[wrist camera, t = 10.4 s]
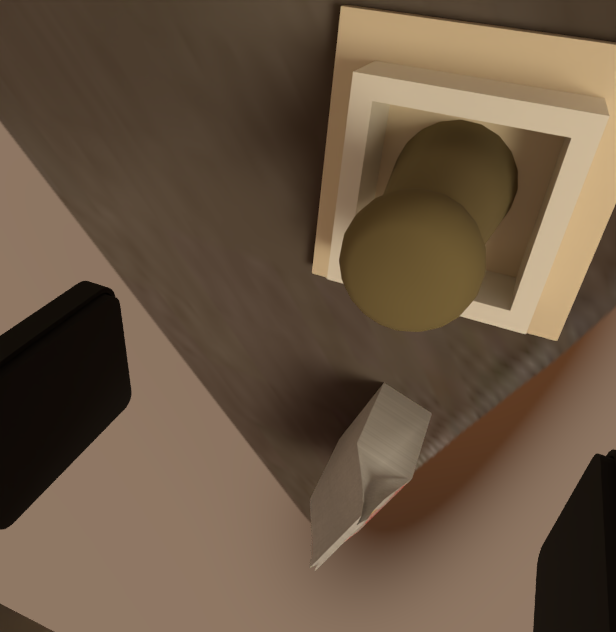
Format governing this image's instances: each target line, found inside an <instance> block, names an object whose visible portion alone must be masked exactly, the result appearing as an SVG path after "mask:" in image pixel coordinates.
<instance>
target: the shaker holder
mask: <svg viewBox="0 0 616 632" xmlns="http://www.w3.org/2000/svg"><path fill="white" fill-rule="evenodd" d="M451 120H465V121H469V122H474V123H478V124H482V125H483V126H485V127H486V128H488V129H490V130H491V131H493V132H494V133H496V134H497V135H499V136H500V137H501V139H502V140H503V141H504V142H505V144H506V145H507V146H508V148H509V149H510V150H511V151H512V154H513V157H514V160H515V163H516V166H517V169H518V190H517V193H516V196H515V198H514V201H513V204H512V206H511V209H510V210H509V212H508V213H507V215H506V216H505V217H504V219H503V220H502V222H501V223H500V224H499V226H498V227H497V229H496V230H495V232H494V233H493V234H492V236H491V237H490V239H489V240H488V241H487V243H486V244H485V246H486V272H485V276H484V279H483V282H482V284H481V287H480V290H479V292H478V295H477V297H476V298H475V299H474V300H473V302H472V303H471V304H470V305H469V306H468V307H467V309H466V310H465V311H464V312H463V313H462V314H461V315H460V316H462V317H465V318H469V319H472V320H476V321H480V322H483V323H487V324H490V325H494V326H497V327H501V328H505V329H508V330H512V331H515V332H519V333H523V334H526V333H529V334H533V335H536V336H540V337H543V338H547V339H551V340H554V341H557V340H558V338H559V335H560V333H561V331H562V328H563V326H564V324H565V321H566V319H567V316H568V314H569V312H570V309H571V307H572V305H573V302H574V300H575V298H576V295H577V293H578V291H579V288H580V286H581V284H582V281H583V279H584V277H585V274H586V272H587V270H588V267H589V265H590V263H591V260H592V258H593V255H594V253H595V251H596V248H597V246H598V244H599V241H600V239H601V237H602V234H603V232H604V230H605V227H606V225H607V223H608V220H609V218H610V216H611V213H612V211H613V209H614V206H615V204H616V42H610V41H603V40H596V39H588V38H581V37H574V36H567V35H560V34H553V33H546V32H538V31H531V30H524V29H517V28H510V27H503V26H496V25H488V24H481V23H474V22H467V21H460V20H453V19H446V18H438V17H431V16H424V15H417V14H410V13H403V12H396V11H388V10H381V9H374V8H367V7H360V6H353V5H344V6H341V10H340V19H339V29H338V38H337V47H336V56H335V65H334V75H333V84H332V93H331V102H330V112H329V121H328V130H327V139H326V148H325V158H324V167H323V176H322V185H321V195H320V204H319V213H318V222H317V231H316V241H315V250H314V259H313V268H312V273H313V274H317V275H320V276H324V277H327V279H329V280H332V281H336V282H340V283H343V281H342V279H341V272H340V265H339V257H340V252H341V247H342V241H343V237H344V233H345V232H346V230H347V228H348V227H349V225H350V223H351V222H352V220H353V218H354V217H355V216H356V214H357V213H358V212H359V211H360V210H362V209H363V208H364V207H365V206H366V205H368V204H369V203H370V202H371V201H372V200H374V199H375V198H376V197H379V196H382V195H383V194H384V191H385V189H386V186H387V183H388V181H389V178H390V176H391V173H392V171H393V168H394V165H395V163H396V160H397V158H398V156H399V155H400V153H401V151H402V150H403V148H404V146H405V145H406V143H407V142H408V141H409V140H410V139H411V138H413V137H414V136H415V135H416V134H417V133H418V132H419V131H421V130H422V129H424V128H426V127H429V126H431V125H433V124H436V123H438V122H440V121H451ZM343 284H344V283H343Z"/></svg>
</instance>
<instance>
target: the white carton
mask: <svg viewBox="0 0 616 632" xmlns="http://www.w3.org/2000/svg"><path fill="white" fill-rule="evenodd" d="M431 414H432V413H430V412H429V411H427V410H426V409H424V408H423V407H421V406H419V405H418V404H416V403H415V402H413V401H412V400H410V399H409V398H407V397H405V396H404V395H402V394H401V393H399V392H398V391H396V390H395V389H393V388H392V387H390V386H388V385H387V384H385V383H383V384H382V386H381V387H380V388H379V389H378V391H377V392H376V393H375V395H374V396H373V397H372V398H371V400H370V401H369V402H368V403H367V405H366V406H365V407H364V408H363V410H362V411H361V412H360V413H359V415H358V416H357V417H356V419H355V420H354V421H353V422H352V424H351V425H350V426H349V427H348V429H347V430H346V431H345V432H344V434H343V435H342V436H341V437H340V439H339V441H338V443H337V445H336V447H335V449H334V451H333V453H332V455H331V457H330V459H329V461H328V463H327V466H326V468H325V470H324V472H323V474H322V476H321V478H320V480H319V482H318V484H317V486H316V488H315V490H314V492H313V494H312V496H311V498H310V511H311V529H312V530H311V531H312V556H311V562H310V568H311V567H313V566H315V565H316V564H317V567H316V569H317V568H319V566H320V565H322V564H323V563H324V562H325V561H326V559H328V558H329V557H330V555H332V554H333V553H334V552H335V551H336V550H337V549H338V548H339V547H340V546H341V545H342V544H343V543H344V542H345V541H346V540H348V539H349V538H350V537H352V536H353V535H354V534H355V533H357V532H358V531H359V530H360V529H361V528H362V527H363V526H364V525H365V524H366V523H367V522H368V521H369V520H370V519H371V518H372V517H373V516H374V515H375V514H376V513H377V512H378V511H379V510H381V508H383V507H384V506H385V504H387V503H388V502H389V500H391V499H392V498H393V497H394V496H395V495H396V494H397V493H398V492H399V491H400V490H401V489H402V488H403V487H404V486H405V485H406V484H407V483H408V482H409V481H410V480H411V479H412V476H413V473H414V470H415V467H416V463H417V460H418V457H419V454H420V450H421V447H422V444H423V440H424V437H425V434H426V431H427V427H428V424H429V421H430V418H431ZM316 569H315V570H316Z"/></svg>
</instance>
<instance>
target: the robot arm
mask: <svg viewBox="0 0 616 632" xmlns="http://www.w3.org/2000/svg"><path fill="white" fill-rule="evenodd" d="M130 398H131V385H130V378H129V369H128V362H127V354H126V346H125V339H124V331H123V324H122V316H121V308H120V303H119V300H118V299H117V298H115V294H114V292H113V291H112V289H110V288H108V287H105V286H101V285H98V284H95V283H92V282H89V281H82V282H80V283H78V284H76V285H75V286H74V287H72V288H71V289H69V290H68V291H66V292H65V293H63V294H62V295H60V296H59V297H57V298H56V299H54V300H53V301H51V302H50V303H48V304H47V305H46V306H44V307H42V308H41V309H39V310H38V311H37V312H35V313H33V314H32V315H30V316H29V317H27V318H26V319H25V320H23V321H22V322H20V323H19V324H17V325H16V326H14V327H13V328H11V329H10V330H8V331H7V332H5V333H4V334H2V335H1V336H0V529H6V528H7V527H9V526H10V525H12V524H13V523H14V522H15V521H16V520H17V519H18V518H19V517H20V516H21V515H22V514H23V513H24V512H25V510H27V509H28V508H29V507H30V505H31V504H32V503H33V502H34V501H35V500H36V499H37V498H38V497H39V496H40V495H41V494H42V493H43V492H44V491H45V490H46V489H47V488H48V487H49V486H50V485H51V484H52V483H53V482H54V481H55V480H56V478H58V477H59V476H60V475H61V474H62V473H63V472H64V470H66V468H67V467H69V466H70V464H71V463H72V462H73V461H74V460H75V459H76V458H77V457H78V456H79V455H80V454H81V453H82V452H83V451H84V450H85V449H86V448H87V447H88V446H89V445H90V444H91V443H92V442H93V441H94V440H95V439H96V438H97V437H98V436H99V434H101V432H103V431H104V430H105V429H106V427H108V426H109V424H110V423H111V422H112V421H113V420H114V419H115V418H116V417H117V416H118V415H119V414H120V413H121V412H122V411H123V410H124V409H125V408H126V407H127V405H128V403H129V401H130ZM0 632H53V631H52V630H50V629H48V628H46V627H44V626H42V625H40V624H38V623H36V622H35V621H33V620H31V619H29V618H27V617H25V616H23V615H21V614H19V613H17V612H15V611H13V610H11V609H9V608H8V607H5V606H4V605H2V604H0ZM533 632H616V450H611V451H610V452H609V453H608V454H607V455H606V456H604V455H601V454H595V455H594V457H593V458H592V460H591V461H590V463H589V465H588V467H587V469H586V470H585V472H584V474H583V475H582V477H581V479H580V481H579V483H578V484H577V486H576V488H575V489H574V491H573V493H572V495H571V496H570V498H569V500H568V502H567V503H566V505H565V507H564V509H563V510H562V512H561V514H560V516H559V517H558V519H557V521H556V523H555V525H554V526H553V528H552V530H551V531H550V533H549V535H548V537H547V538H546V540H545V542H544V544H543V546H542V548H541V551H540V554H539V557H538V563H537V576H536V594H535V611H534V629H533Z"/></svg>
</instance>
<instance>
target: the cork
mask: <svg viewBox="0 0 616 632" xmlns="http://www.w3.org/2000/svg"><path fill="white" fill-rule="evenodd" d="M517 190H518V169H517V166H516V163H515V160H514V157H513V154H512V151H511V150H510V149H509V148H508V146H507V145H506V144H505V142H504V141H503V140H502V139H501V137H500V136H499V135H497V134H496V133H494V132H493V131H491V130H490V129H488V128H486V127H485V126H483V125H482V124H478V123H474V122H469V121H465V120H451V121H440V122H438V123H436V124H433V125H431V126H429V127H426V128H424V129H422V130H421V131H419V132H418V133H417V134H416V135H415V136H414V137H413V138H411V139H410V140H409V141H408V142H407V143H406V145H405V146H404V148H403V150H402V151H401V153H400V155H399V156H398V158H397V160H396V163H395V165H394V168H393V171H392V173H391V176H390V178H389V181H388V183H387V186H386V189H385V191H384V194H383V195H382V196H379V197H376V198H375V199H374V200H372V201H371V202H370V203H369V204H368V205H366V206H365V207H364V208H363V209H362V210H360V211H359V212H358V213H357V214H356V216H355V217H354V218H353V220H352V222H351V223H350V225H349V227H348V228H347V230H346V232H345V233H344V237H343V241H342V247H341V252H340V257H339V265H340V272H341V279H342V281H343V283H344V286H345V288H346V290H347V292H348V294H349V296H350V298H351V300H352V301H353V302H354V303H355V304H356V305H357V307H358V308H359V309H360V310H361V311H362V312H363V313H364V314H365V315H366V316H368V317H369V318H371V319H372V320H374V321H375V322H377V323H378V324H380V325H383V326H386V327H389V328H392V329H395V330H398V331H412V332H422V331H426V330H431V329H435V328H440V327H442V326H444V325H446V324H447V323H449V322H451V321H453V320H454V319H456V318H458V317H459V316H460V315H461V314H462V313H463V312H464V311H465V310H466V309H467V307H468V306H469V305H470V304H471V303H472V302H473V300H474V299H475V298H476V297H477V295H478V292H479V290H480V287H481V284H482V282H483V279H484V276H485V272H486V246H485V244H486V243H487V241H488V240H489V239H490V237H491V236H492V234H493V233H494V232H495V230H496V229H497V227H498V226H499V224H500V223H501V222H502V220H503V219H504V217H505V216H506V215H507V213H508V212H509V210H510V209H511V206H512V204H513V201H514V198H515V196H516V193H517Z"/></svg>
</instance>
